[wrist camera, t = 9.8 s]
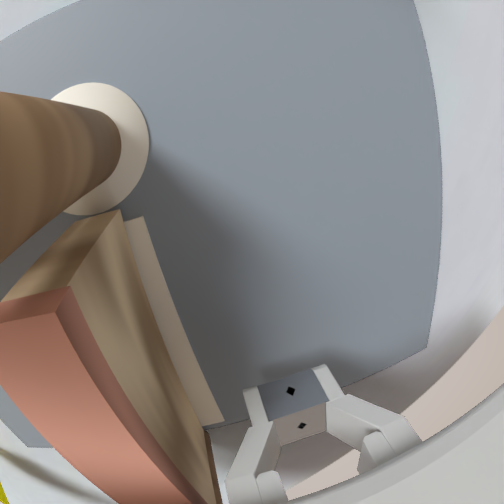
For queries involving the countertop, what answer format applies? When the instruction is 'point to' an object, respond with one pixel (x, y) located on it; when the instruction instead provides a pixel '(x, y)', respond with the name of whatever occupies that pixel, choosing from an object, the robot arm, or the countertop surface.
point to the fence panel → (103, 371)
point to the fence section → (48, 161)
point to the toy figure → (3, 495)
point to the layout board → (254, 180)
